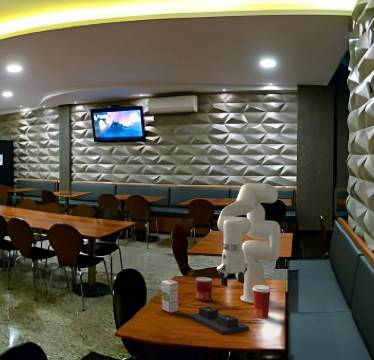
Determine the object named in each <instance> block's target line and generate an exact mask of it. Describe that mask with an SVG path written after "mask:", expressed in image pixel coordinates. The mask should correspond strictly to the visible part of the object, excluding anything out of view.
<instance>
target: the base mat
mask: <svg viewBox="0 0 374 360" xmlns="http://www.w3.org/2000/svg"><path fill="white" fill-rule="evenodd" d="M207 310H210V309H207ZM219 315H223V314H222V313H219V312H218V316H219ZM188 317H189V319H191V320H192V321H195V322H197V323H199V324H201V325H203V326H205V327H207V328H209V329H211V330H213V331H215V332H217V333H219V334H221V335H224V336H225V335H229V334H234V333H239V332H245V331H249V330H250V327H249V325H247V324H244V323H242V322H240V321H238V326H236V327H231V328H226V327H224V326H222V325H220V324H217V317H216V318H211V319H207V318H205V317H202V316H200V315H199V312H196V313H190V314H188ZM226 318H228V317H226Z"/></svg>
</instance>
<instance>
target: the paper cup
mask: <svg viewBox="0 0 374 360" xmlns="http://www.w3.org/2000/svg"><path fill="white" fill-rule="evenodd" d="M253 291H254V304H253V306H254V317H256V318H257V319H268V318H269V311H270V298H271V297H270V296H271V291H272V290H271V288H270V287H269V286H267V285H264V286H263V285H255V286H254V287H253Z"/></svg>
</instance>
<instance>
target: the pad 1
mask: <svg viewBox="0 0 374 360" xmlns="http://www.w3.org/2000/svg"><path fill="white" fill-rule="evenodd" d="M207 309H210V310H207ZM198 313H199V315H200V316H202V317H205V318H207V319H211V318H216V317H217V316H218V313H219V309H217V308H215V307H213V306H210V305H206V306H200V307H198Z"/></svg>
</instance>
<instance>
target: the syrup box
mask: <svg viewBox="0 0 374 360" xmlns="http://www.w3.org/2000/svg"><path fill="white" fill-rule="evenodd" d="M178 287H179V285H178V281H176V280H171V279H165V280H162V281H161V310H162V311H164V312H168V313H169V314H170V313H171V314H172V313H175V312H176V313H177V312H178V310H179V291H178V289H179V288H178Z"/></svg>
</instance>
